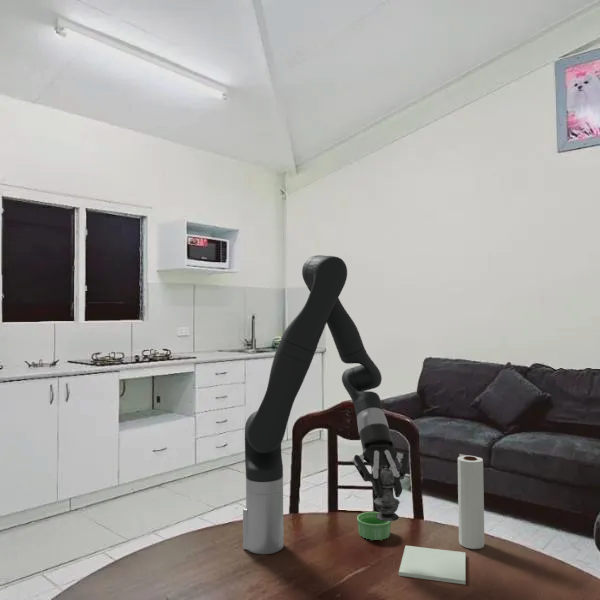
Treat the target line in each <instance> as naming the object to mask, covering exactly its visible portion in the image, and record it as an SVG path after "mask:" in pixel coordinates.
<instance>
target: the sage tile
mask: <svg viewBox="0 0 600 600" xmlns="http://www.w3.org/2000/svg"><path fill="white" fill-rule="evenodd" d="M398 576H401V577H407V578H414V579H422V580H430V581H437V582H445V583H452V584H459V585H466V552H464V551H456V550H448V549H447V550H446V549H439V548H438V549H437V548H429V547H421V546H414V545H413V546H412V545H405V547H404V550H403V554H402V558H401V561H400V566H399V569H398Z"/></svg>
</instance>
